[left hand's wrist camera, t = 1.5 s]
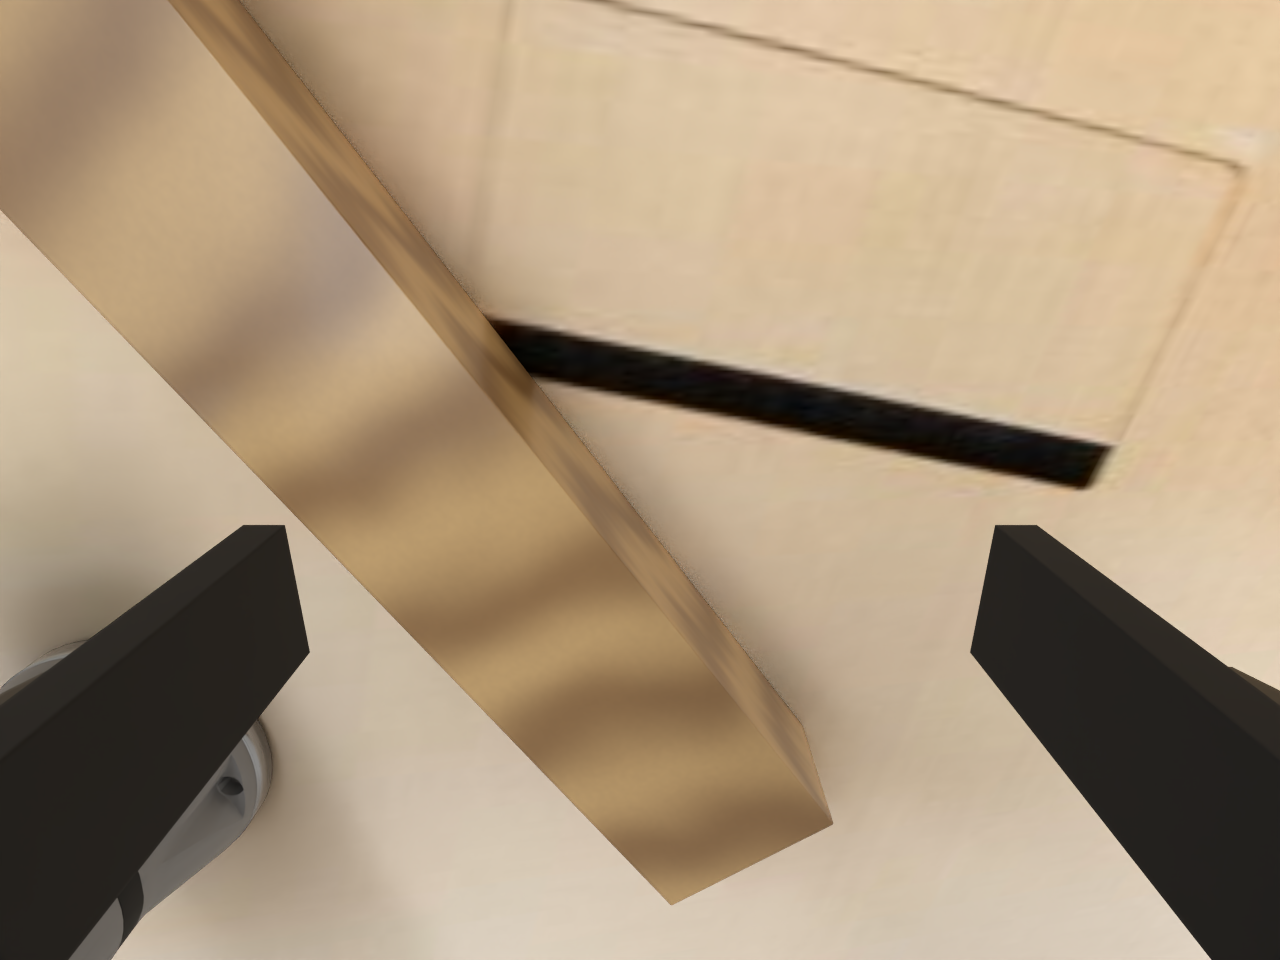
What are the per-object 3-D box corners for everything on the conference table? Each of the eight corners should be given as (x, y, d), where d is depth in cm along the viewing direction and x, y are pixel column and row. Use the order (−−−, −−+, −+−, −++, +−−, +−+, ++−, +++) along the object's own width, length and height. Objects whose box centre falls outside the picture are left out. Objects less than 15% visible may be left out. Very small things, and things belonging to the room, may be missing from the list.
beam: (803, 726, 40) (834, 824, 33) (667, 799, 42) (671, 906, 35) (-977, -1564, 17) (-2049, -2749, 10) (-1089, -1149, 19) (-2042, -1906, 12)
